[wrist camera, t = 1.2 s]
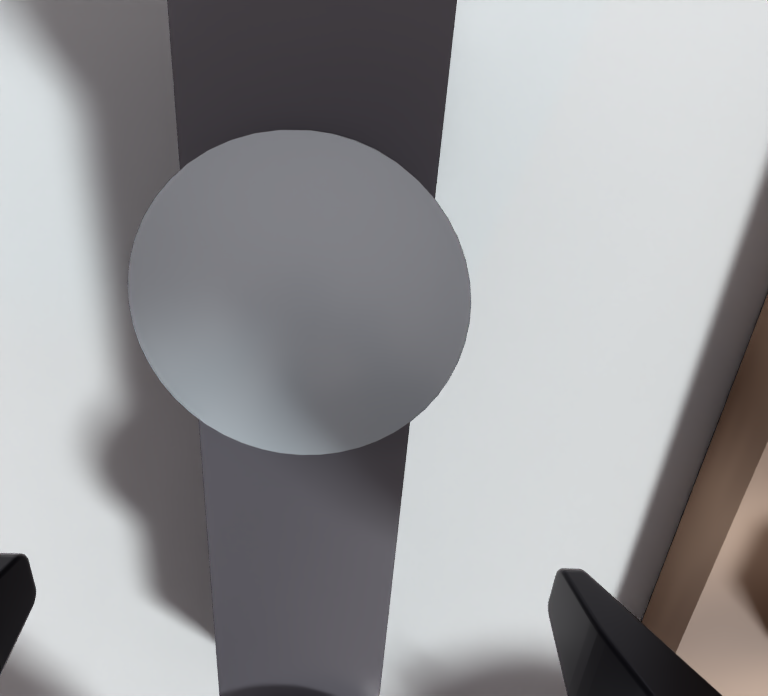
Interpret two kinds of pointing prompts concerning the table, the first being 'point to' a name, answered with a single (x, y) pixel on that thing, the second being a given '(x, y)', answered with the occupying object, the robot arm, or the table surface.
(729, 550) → the display stand
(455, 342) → the grey bar with knobs
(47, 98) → the table surface
